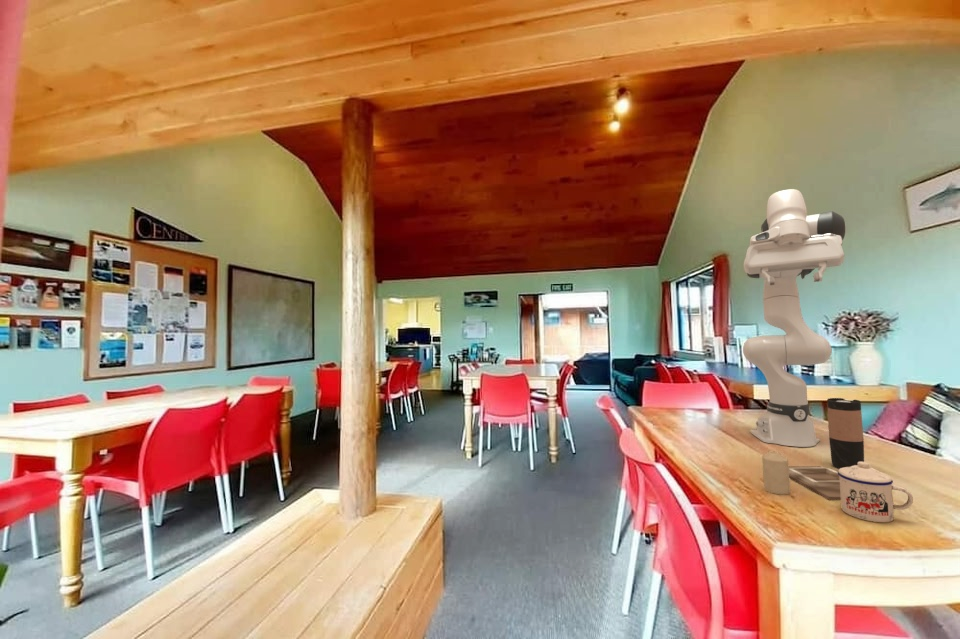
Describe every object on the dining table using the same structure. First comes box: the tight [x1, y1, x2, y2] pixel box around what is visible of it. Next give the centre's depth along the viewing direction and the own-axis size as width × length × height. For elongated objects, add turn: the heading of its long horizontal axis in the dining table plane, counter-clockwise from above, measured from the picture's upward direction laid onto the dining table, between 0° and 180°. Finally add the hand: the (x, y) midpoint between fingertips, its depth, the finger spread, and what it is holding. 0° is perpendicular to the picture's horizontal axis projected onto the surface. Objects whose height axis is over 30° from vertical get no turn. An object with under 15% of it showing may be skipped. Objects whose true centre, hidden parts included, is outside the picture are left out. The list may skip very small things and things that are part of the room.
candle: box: [761, 450, 791, 495], centre depth 106 cm, size 6×6×10 cm
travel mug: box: [826, 397, 865, 470], centre depth 120 cm, size 8×8×20 cm
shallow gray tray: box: [789, 465, 841, 501], centre depth 109 cm, size 22×13×2 cm, turn 174°
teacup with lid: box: [837, 461, 914, 523], centre depth 91 cm, size 12×9×12 cm
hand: (794, 282), depth 102 cm, fingers open, 8 cm apart
